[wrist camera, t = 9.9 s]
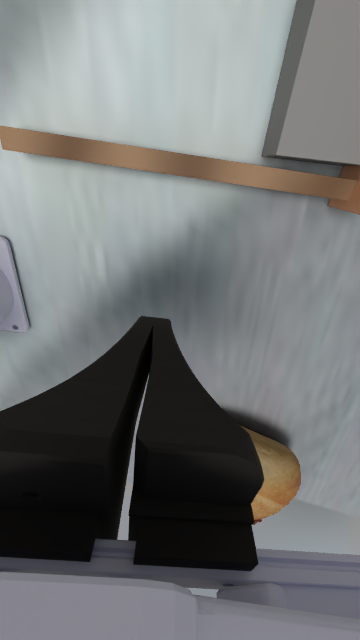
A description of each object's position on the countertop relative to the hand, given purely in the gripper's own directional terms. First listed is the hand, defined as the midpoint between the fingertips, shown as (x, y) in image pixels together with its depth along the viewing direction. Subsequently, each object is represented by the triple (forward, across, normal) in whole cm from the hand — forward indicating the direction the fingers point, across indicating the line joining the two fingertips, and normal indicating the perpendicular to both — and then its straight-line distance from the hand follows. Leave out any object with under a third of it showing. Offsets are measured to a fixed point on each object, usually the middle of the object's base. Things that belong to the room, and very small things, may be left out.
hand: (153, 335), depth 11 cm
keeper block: (+9, -7, -11) cm, 16 cm away
